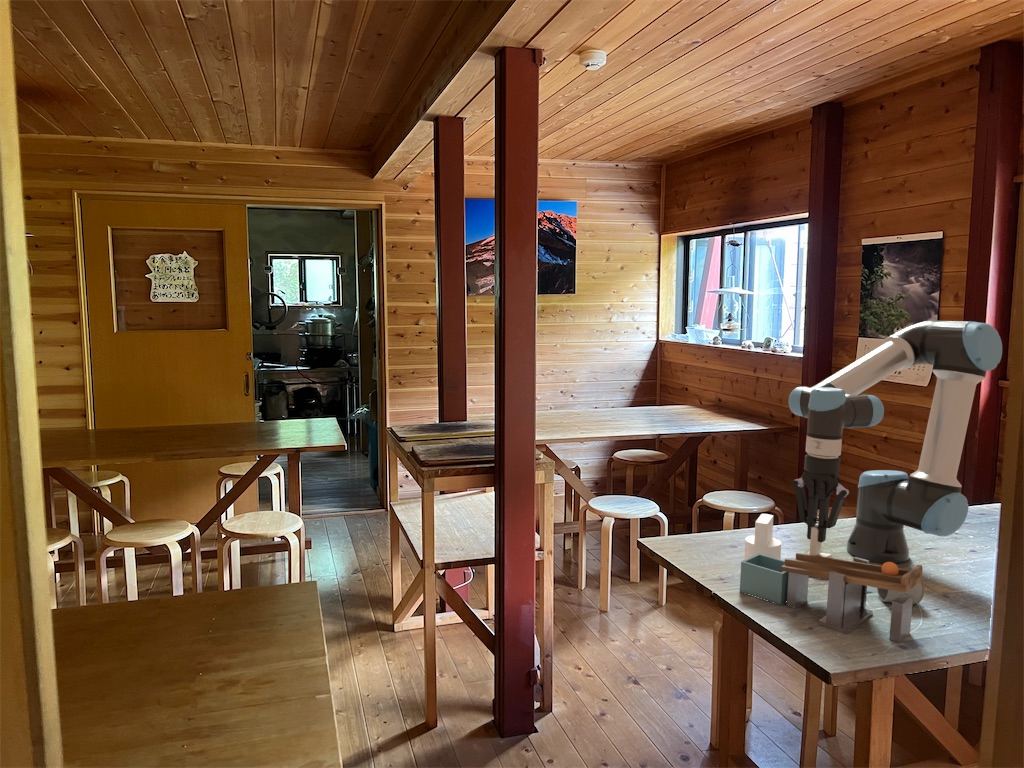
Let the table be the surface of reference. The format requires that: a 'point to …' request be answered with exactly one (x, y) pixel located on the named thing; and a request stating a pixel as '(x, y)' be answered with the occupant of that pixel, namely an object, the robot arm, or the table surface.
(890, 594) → the ceramic mug
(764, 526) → the cylinder with rectangular tab
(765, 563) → the open box
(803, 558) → the wooden ramp track
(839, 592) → the support blocks
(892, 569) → the ball
